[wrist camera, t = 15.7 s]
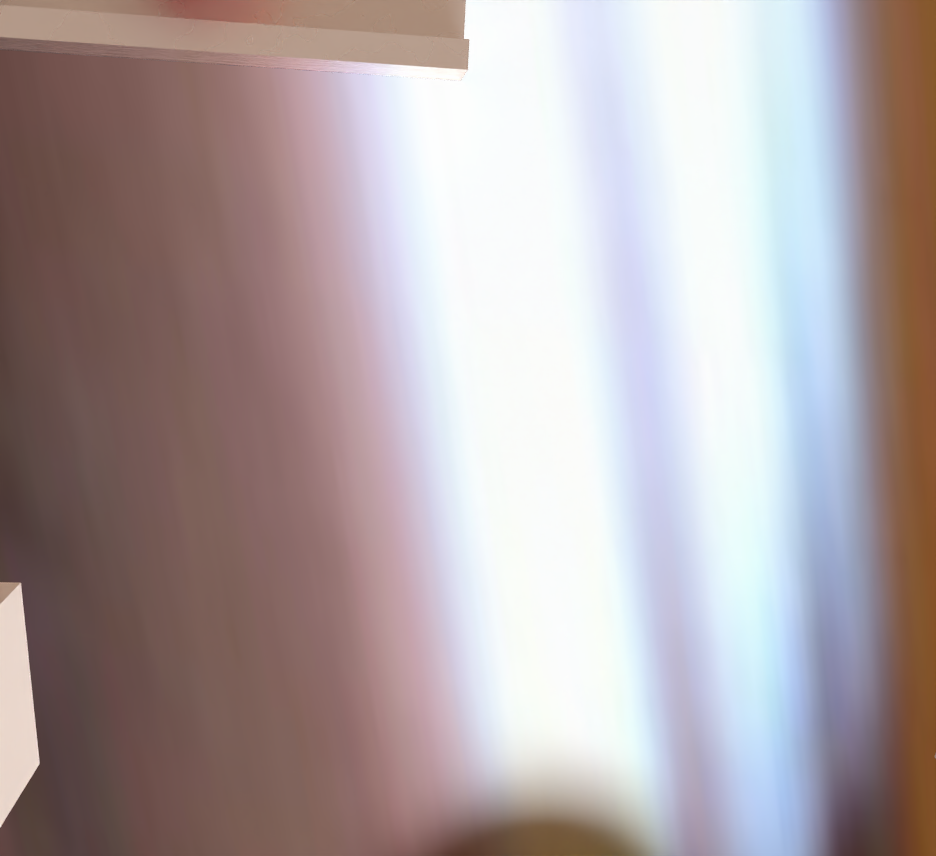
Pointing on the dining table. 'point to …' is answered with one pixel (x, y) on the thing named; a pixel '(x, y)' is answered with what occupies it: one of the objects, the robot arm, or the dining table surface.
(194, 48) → the channel
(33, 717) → the robot arm
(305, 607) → the dining table surface
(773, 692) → the dining table surface
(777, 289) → the dining table surface
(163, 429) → the dining table surface
